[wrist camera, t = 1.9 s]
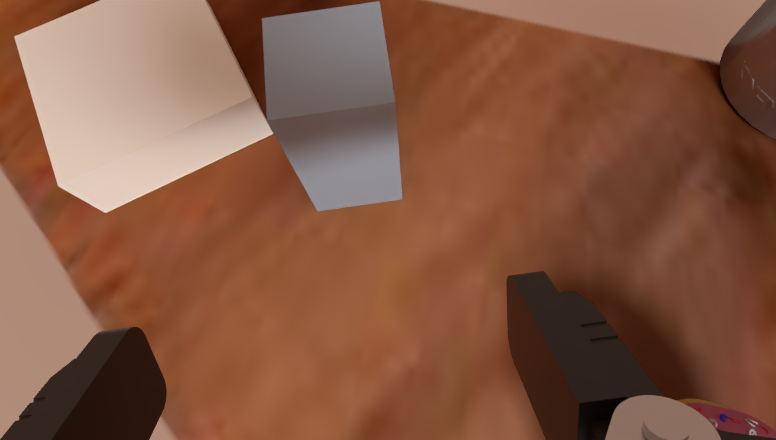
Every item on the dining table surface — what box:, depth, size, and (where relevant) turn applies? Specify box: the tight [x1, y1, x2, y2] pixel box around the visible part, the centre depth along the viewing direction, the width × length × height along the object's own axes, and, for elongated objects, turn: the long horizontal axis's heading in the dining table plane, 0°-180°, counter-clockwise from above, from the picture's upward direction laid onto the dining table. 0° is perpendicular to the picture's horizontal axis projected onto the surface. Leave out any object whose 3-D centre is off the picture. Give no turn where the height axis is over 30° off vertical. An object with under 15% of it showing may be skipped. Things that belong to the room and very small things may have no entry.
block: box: [262, 1, 402, 211], centre depth 24 cm, size 5×5×10 cm
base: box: [15, 0, 273, 213], centre depth 29 cm, size 11×11×4 cm
